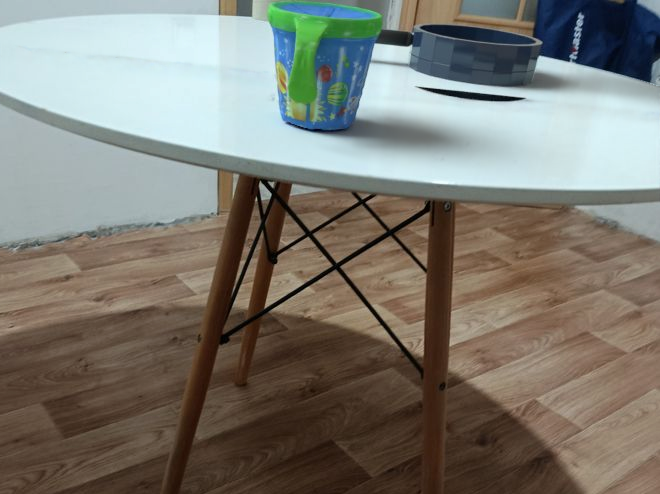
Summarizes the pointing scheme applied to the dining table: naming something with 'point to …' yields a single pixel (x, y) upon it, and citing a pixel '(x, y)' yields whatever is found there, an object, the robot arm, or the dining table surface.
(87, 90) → the dining table surface
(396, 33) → the pan handle
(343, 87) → the snack cup
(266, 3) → the travel mug
